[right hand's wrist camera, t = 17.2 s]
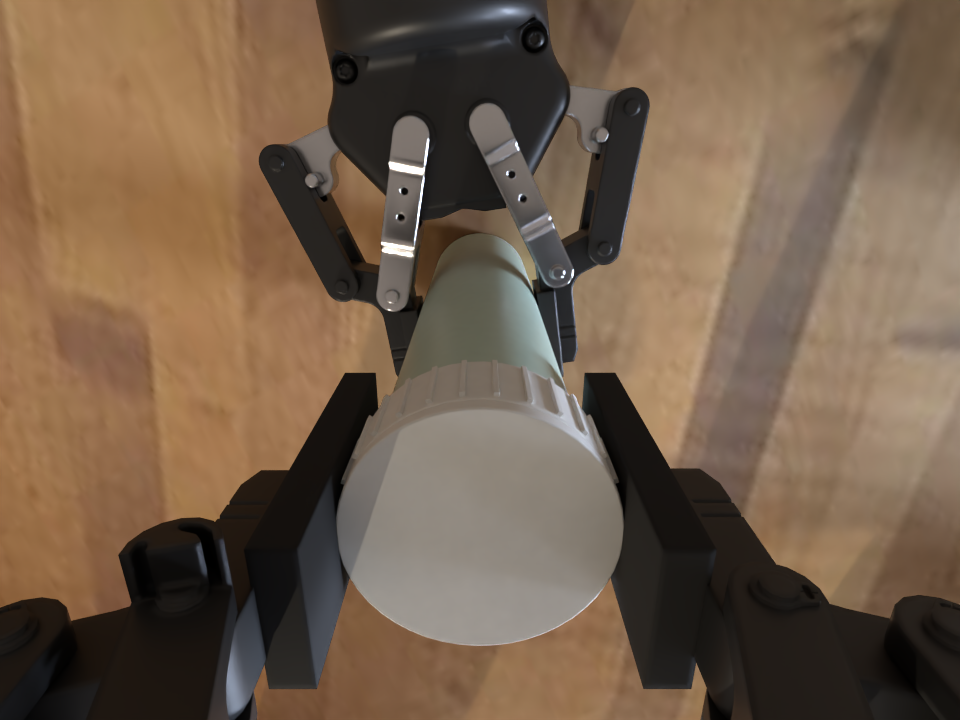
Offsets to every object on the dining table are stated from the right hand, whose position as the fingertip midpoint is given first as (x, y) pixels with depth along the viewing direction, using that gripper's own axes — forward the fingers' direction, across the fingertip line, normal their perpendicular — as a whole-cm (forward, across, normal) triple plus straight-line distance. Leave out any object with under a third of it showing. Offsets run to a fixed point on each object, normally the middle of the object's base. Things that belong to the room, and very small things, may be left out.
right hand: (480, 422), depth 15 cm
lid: (-4, 0, 0) cm, 4 cm away
